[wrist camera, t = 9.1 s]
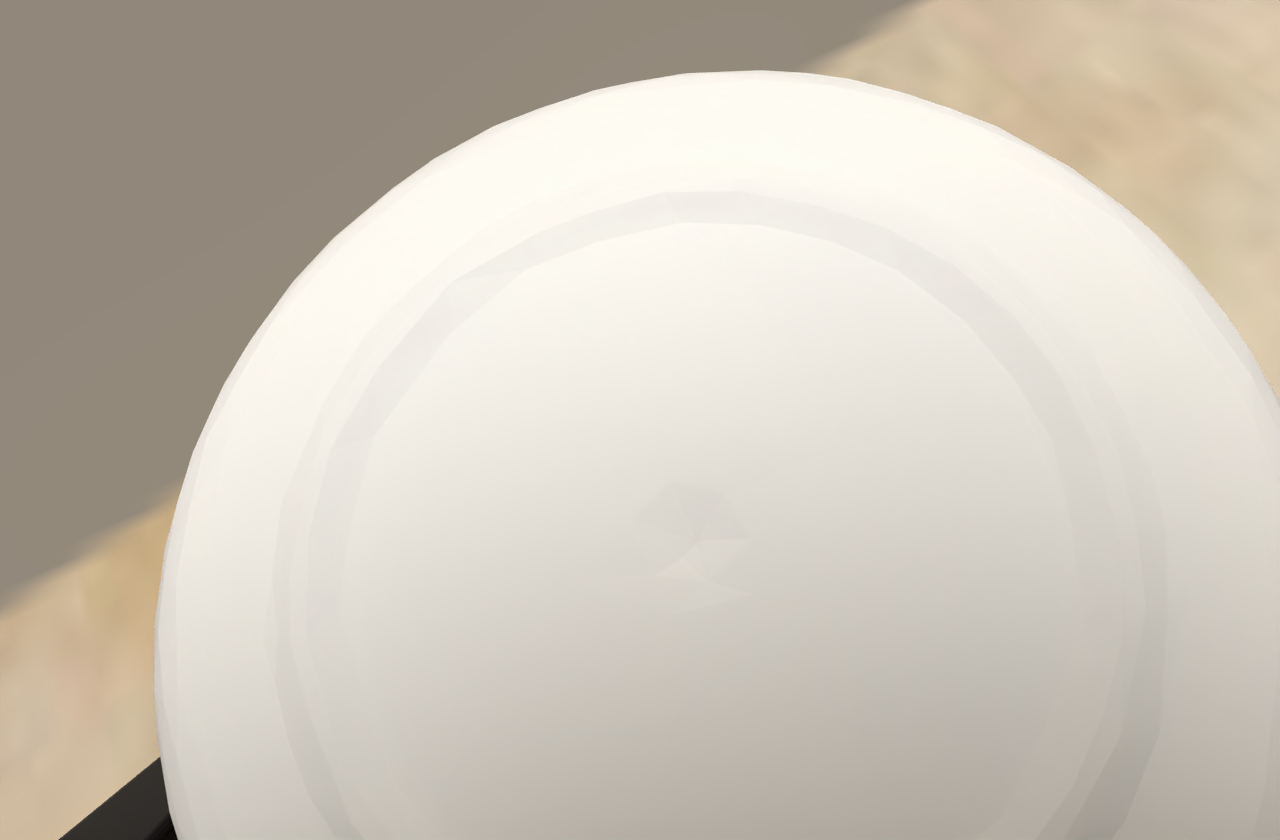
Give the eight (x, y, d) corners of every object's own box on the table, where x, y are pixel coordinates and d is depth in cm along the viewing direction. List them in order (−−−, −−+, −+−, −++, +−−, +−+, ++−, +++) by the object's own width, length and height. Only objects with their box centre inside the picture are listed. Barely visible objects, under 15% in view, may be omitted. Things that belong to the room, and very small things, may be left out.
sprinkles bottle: (914, 876, 15) (1557, 1538, 2) (626, 841, 16) (-71, 1195, 3) (914, 581, 16) (1310, -3, 4) (651, 564, 17) (245, 36, 5)
